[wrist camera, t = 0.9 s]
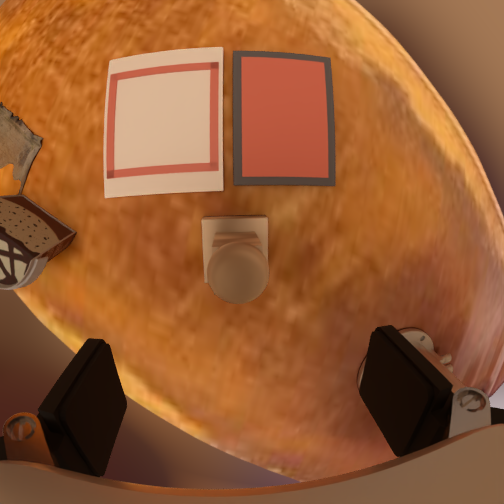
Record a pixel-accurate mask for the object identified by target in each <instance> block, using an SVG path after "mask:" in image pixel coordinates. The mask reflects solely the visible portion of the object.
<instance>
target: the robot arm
mask: <svg viewBox="0 0 504 504" xmlns="http://www.w3.org/2000/svg"><path fill="white" fill-rule="evenodd" d="M451 358H452V357H451V355H450V354H449V353H448V354H445V355H442V356H439V355H438V354H437V353H436V352H435V351H434V346H433V342H432V340H431V338H430V337H429V336H428V335H427V334H426V333H425V332H424V331H422V330H420V329H416V328H408V329H403V330H400V331H398V330H396V329H395V328H394V327H393V326H392V325H388V326H381V327H377V328H376V329H375V331H374V332H372V334H371V337H370V342H369V347H368V352H367V357H366V358H365V360H364V362H363V363H362V365H361V368H360V370H359V373H358V378H357V385H358V389H359V392H360V396H361V398H362V399H363V401H364V403H365V405H366V406H367V408H368V410H369V411H370V413H371V415H372V416H373V418H374V420H375V421H376V423H377V425H378V427H379V428H380V430H381V432H382V433H383V435H384V437H385V439H386V440H387V442H388V444H389V445H390V447H391V449H392V451H393V452H394V454H395V455H396V456H397V457H399V456H400V457H399V458H396V459H394V460H391V461H388V462H385V463H382V464H378V465H375V466H372V467H368V468H365V469H361V470H358V471H354V472H350V473H346V474H342V475H337V476H333V477H328V478H323V479H318V480H313V481H307V482H301V483H295V484H288V485H279V486H271V487H260V488H245V489H181V488H167V487H157V486H148V485H140V484H133V483H127V482H121V481H115V480H110V479H105V478H100V476H103V475H104V474H105V471H106V468H107V464H108V461H109V458H110V455H111V452H112V449H113V446H114V443H115V440H116V437H117V434H118V431H119V428H120V425H121V422H122V420H123V416H124V414H125V411H126V408H127V401H126V398H125V394H124V391H123V388H122V385H121V382H120V379H119V376H118V372H117V369H116V366H115V362H114V359H113V355H112V351H111V348H110V345H109V344H106V342H105V341H104V340H103V339H91V338H89V339H87V341H86V342H85V343H84V345H83V346H82V347H81V349H80V350H79V351H78V353H77V354H76V355H75V357H74V358H73V360H72V361H71V362H70V363H69V365H68V366H67V368H66V369H65V370H64V372H63V373H62V375H61V376H60V377H59V379H58V380H57V382H56V383H55V385H54V386H53V388H52V389H51V391H50V392H49V394H48V395H47V396H46V398H45V399H44V401H43V402H42V404H41V405H40V407H39V408H38V411H39V414H38V415H37V417H36V416H35V415H33V414H30V413H18V414H16V415H13V416H12V417H11V418H9V419H8V420H7V421H6V422H5V424H4V427H3V436H2V437H0V504H504V409H499V408H493V407H490V401H489V398H488V397H487V395H486V394H485V393H484V392H482V391H481V390H479V389H476V388H472V387H466V386H465V385H464V384H463V383H462V382H461V381H460V380H459V379H458V378H457V377H456V376H455V375H454V374H453V367H452V365H451V364H446V365H443V364H445V363H448V362H450V361H451Z"/></svg>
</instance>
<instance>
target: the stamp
mask: <svg viewBox="0 0 504 504" xmlns="http://www.w3.org/2000/svg"><path fill="white" fill-rule="evenodd" d="M202 242H203V261H204V278H205V283H209V285H210V287H211V289H212V290H213V292H214V295H215V294H216V295H217V296H218V297H219V298H221V299H222V300H224V301H226V302H229V303H233V304H243V303H247V302H250V301H252V300H254V299H256V298H257V297H258V296H259V295H260V294H261V293H263V291H264V289H265V288H266V286H267V283H268V279H269V266H268V218H267V217H266V216H265V215H237V216H204V217H203V218H202Z"/></svg>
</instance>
